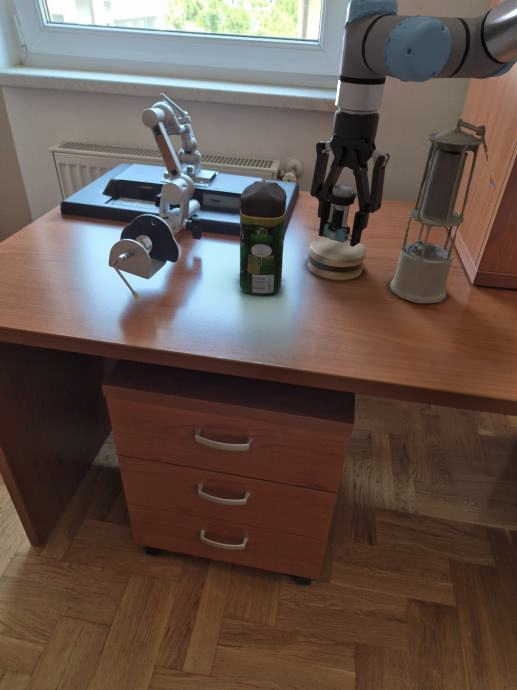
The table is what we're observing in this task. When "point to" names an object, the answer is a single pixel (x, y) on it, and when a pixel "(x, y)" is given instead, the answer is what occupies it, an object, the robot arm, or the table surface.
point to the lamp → (437, 215)
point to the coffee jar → (262, 237)
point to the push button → (339, 213)
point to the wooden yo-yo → (336, 259)
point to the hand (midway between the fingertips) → (339, 238)
